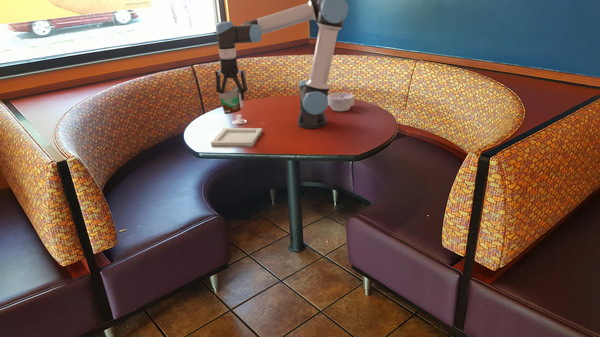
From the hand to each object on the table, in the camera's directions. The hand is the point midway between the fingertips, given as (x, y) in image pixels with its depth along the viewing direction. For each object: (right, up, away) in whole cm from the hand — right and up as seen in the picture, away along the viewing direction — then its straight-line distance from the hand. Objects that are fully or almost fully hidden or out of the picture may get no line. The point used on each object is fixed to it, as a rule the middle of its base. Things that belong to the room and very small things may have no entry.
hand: (233, 106), depth 213 cm
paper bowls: (+54, +4, +43) cm, 69 cm away
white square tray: (+1, -15, +7) cm, 16 cm away
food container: (+1, -2, 0) cm, 2 cm away
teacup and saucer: (-4, -6, +30) cm, 30 cm away
